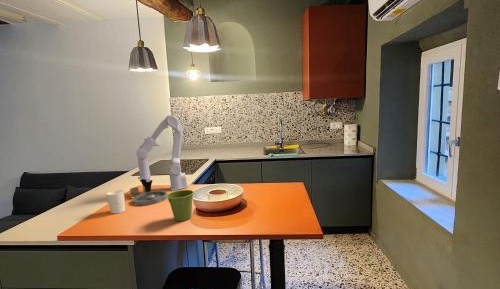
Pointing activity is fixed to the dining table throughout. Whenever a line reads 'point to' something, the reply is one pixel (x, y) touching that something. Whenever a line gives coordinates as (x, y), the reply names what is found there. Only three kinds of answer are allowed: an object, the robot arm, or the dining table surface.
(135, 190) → the bead
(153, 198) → the groove dish
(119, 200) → the white cup
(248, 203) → the dining table surface
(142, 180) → the robot arm
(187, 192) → the plant pot
